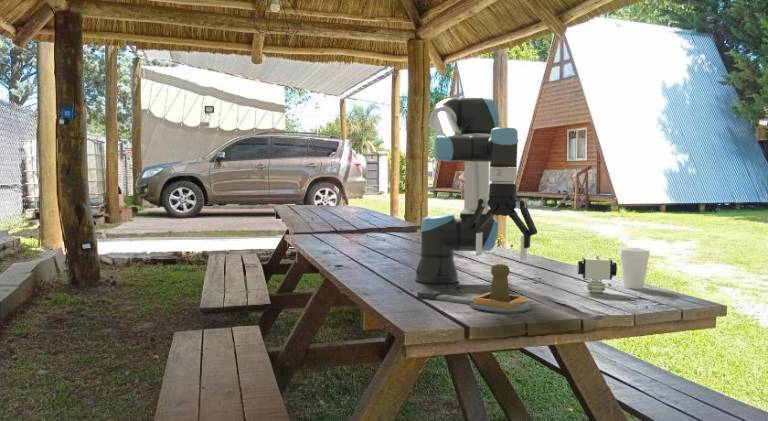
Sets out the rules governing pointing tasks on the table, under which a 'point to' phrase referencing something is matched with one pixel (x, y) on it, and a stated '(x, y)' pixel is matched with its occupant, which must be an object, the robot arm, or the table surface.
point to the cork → (500, 283)
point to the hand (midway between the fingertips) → (500, 257)
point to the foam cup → (634, 266)
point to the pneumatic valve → (596, 272)
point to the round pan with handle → (483, 302)
